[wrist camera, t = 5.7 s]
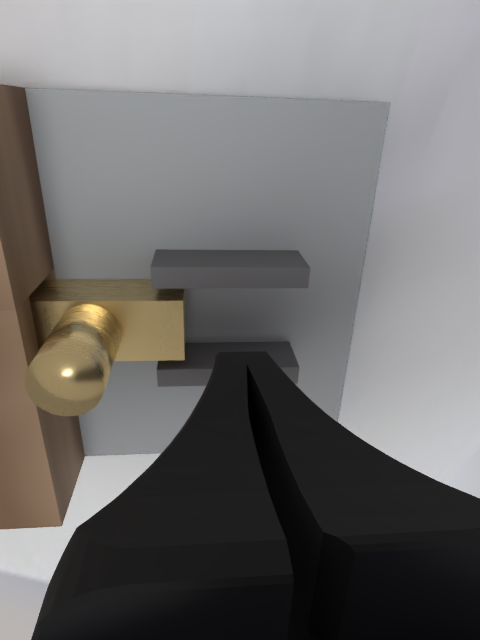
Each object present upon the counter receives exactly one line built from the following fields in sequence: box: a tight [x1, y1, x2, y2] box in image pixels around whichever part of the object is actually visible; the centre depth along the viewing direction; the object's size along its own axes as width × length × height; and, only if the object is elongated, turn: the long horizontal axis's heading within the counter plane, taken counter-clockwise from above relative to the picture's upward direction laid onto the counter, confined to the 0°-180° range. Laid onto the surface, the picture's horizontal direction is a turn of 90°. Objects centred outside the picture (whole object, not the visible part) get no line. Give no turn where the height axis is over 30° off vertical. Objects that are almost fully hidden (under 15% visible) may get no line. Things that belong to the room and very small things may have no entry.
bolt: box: [24, 280, 186, 416], centre depth 13 cm, size 7×2×5 cm, turn 88°
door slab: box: [25, 88, 390, 456], centre depth 16 cm, size 11×14×3 cm
